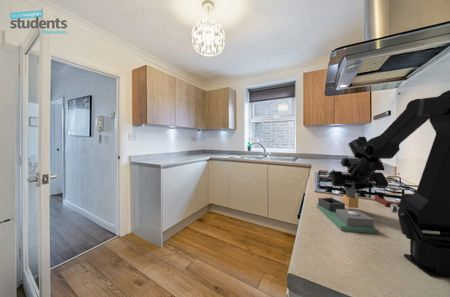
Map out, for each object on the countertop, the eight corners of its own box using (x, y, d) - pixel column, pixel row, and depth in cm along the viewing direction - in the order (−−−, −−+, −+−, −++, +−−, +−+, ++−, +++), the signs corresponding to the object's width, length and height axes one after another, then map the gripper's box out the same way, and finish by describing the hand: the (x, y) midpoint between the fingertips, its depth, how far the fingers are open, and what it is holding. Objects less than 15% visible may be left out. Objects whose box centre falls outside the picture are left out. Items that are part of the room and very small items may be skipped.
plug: (358, 208, 69) (358, 179, 69) (348, 207, 70) (349, 179, 69) (352, 204, 73) (352, 177, 73) (343, 203, 74) (343, 177, 74)
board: (375, 233, 53) (375, 228, 53) (340, 230, 55) (341, 225, 54) (340, 208, 74) (341, 204, 74) (316, 206, 75) (316, 203, 75)
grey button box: (373, 227, 54) (373, 218, 53) (347, 225, 55) (347, 216, 55) (358, 217, 61) (358, 209, 61) (335, 215, 62) (335, 208, 62)
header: (344, 210, 67) (344, 203, 67) (330, 211, 66) (330, 204, 66) (331, 204, 74) (331, 197, 74) (318, 204, 73) (318, 198, 73)
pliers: (378, 211, 71) (378, 205, 71) (373, 199, 87) (374, 194, 87) (418, 219, 64) (418, 212, 64) (405, 204, 80) (406, 198, 80)
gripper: (383, 152, 65) (365, 175, 76) (331, 151, 69) (321, 173, 80) (399, 175, 58) (377, 197, 69) (339, 174, 62) (327, 194, 73)
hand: (349, 189), depth 73 cm, fingers closed on plug, 3 cm apart
